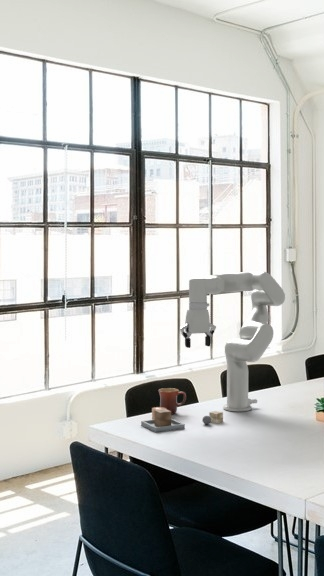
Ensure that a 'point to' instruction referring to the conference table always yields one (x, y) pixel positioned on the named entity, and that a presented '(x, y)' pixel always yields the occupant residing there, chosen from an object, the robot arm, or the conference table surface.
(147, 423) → the tray
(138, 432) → the conference table surface
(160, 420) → the walnut block
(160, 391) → the mug
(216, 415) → the beech cube
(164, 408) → the beige short cylinder
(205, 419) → the grey ball
